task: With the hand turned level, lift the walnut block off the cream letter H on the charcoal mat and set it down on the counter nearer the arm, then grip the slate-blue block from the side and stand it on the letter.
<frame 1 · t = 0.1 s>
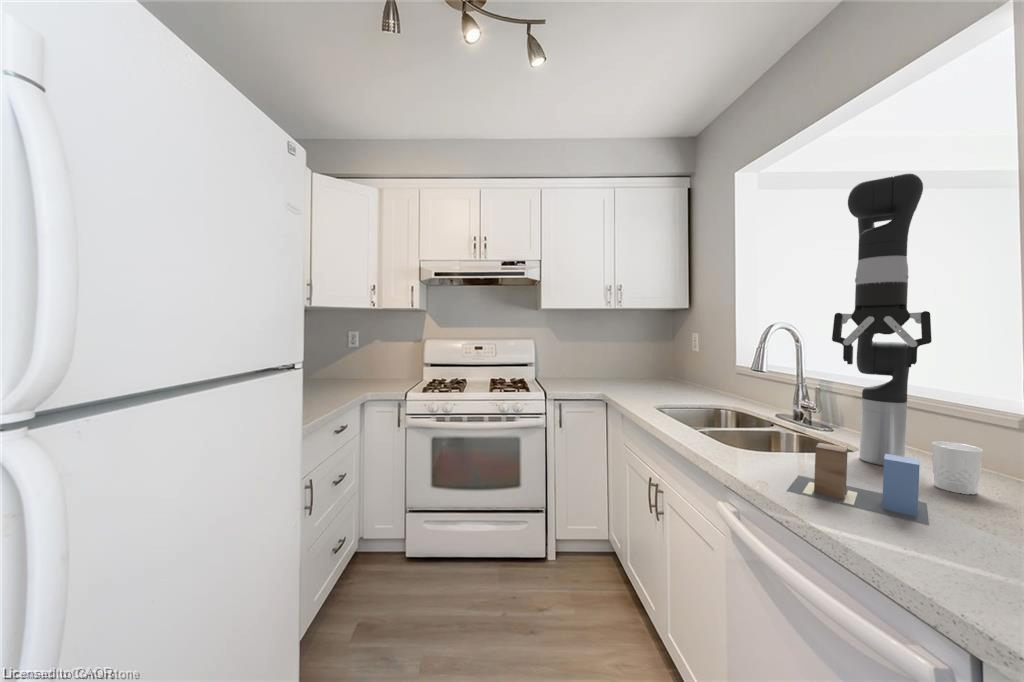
hand: (878, 365, 80), 29 cm above the table, tool pointing down, fingers open, 8 cm apart
blue block: (899, 508, 81), point 1 cm above the table, touching letter mat
walnut block: (830, 492, 89), point 1 cm above the table, touching letter mat
white cup: (954, 489, 94), on the table
letter mat: (854, 499, 87), on the table
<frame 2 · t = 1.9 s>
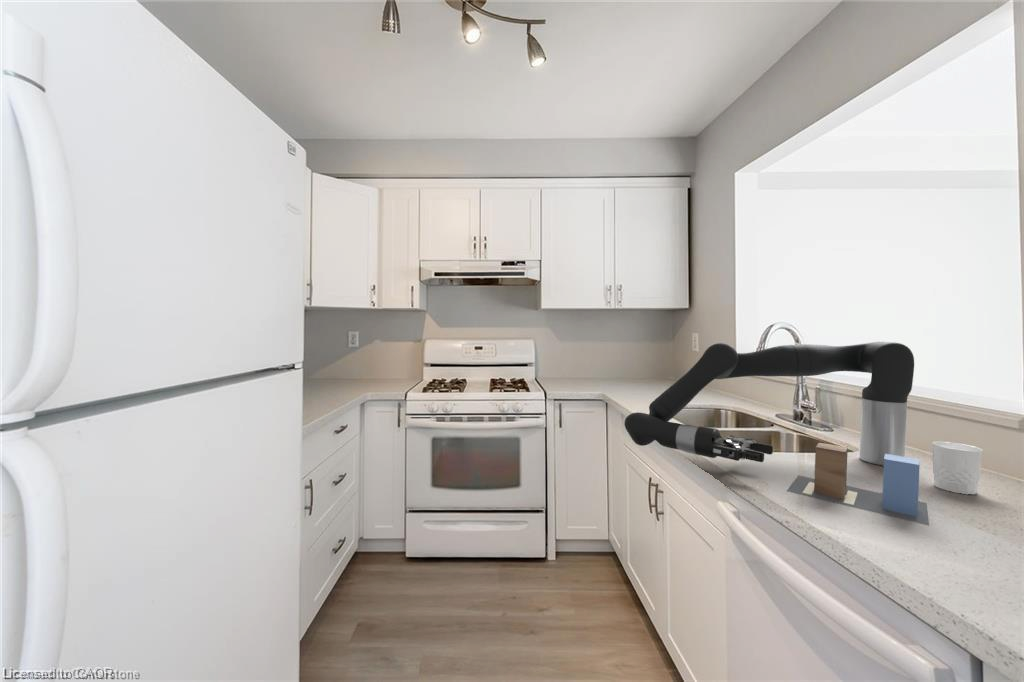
hand: (768, 453, 97), 7 cm above the table, tool horizontal, fingers open, 8 cm apart
nothing on the table moved.
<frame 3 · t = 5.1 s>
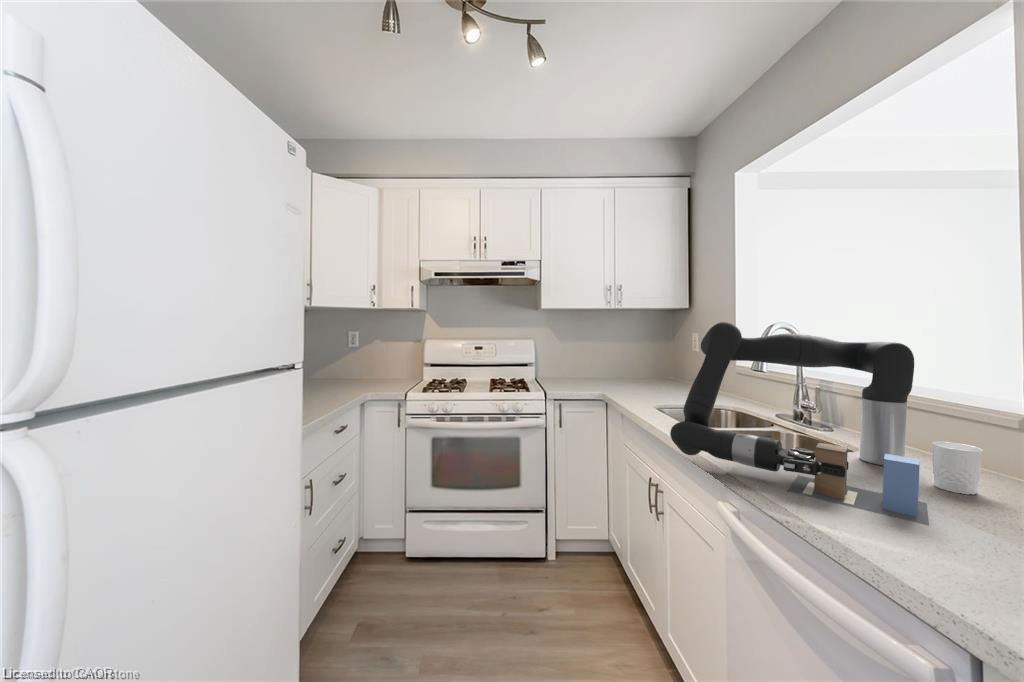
hand: (846, 468, 87), 7 cm above the table, tool horizontal, fingers closed on walnut block, 5 cm apart
walnut block: (830, 492, 89), point 1 cm above the table, touching gripper, letter mat
everything else where it was.
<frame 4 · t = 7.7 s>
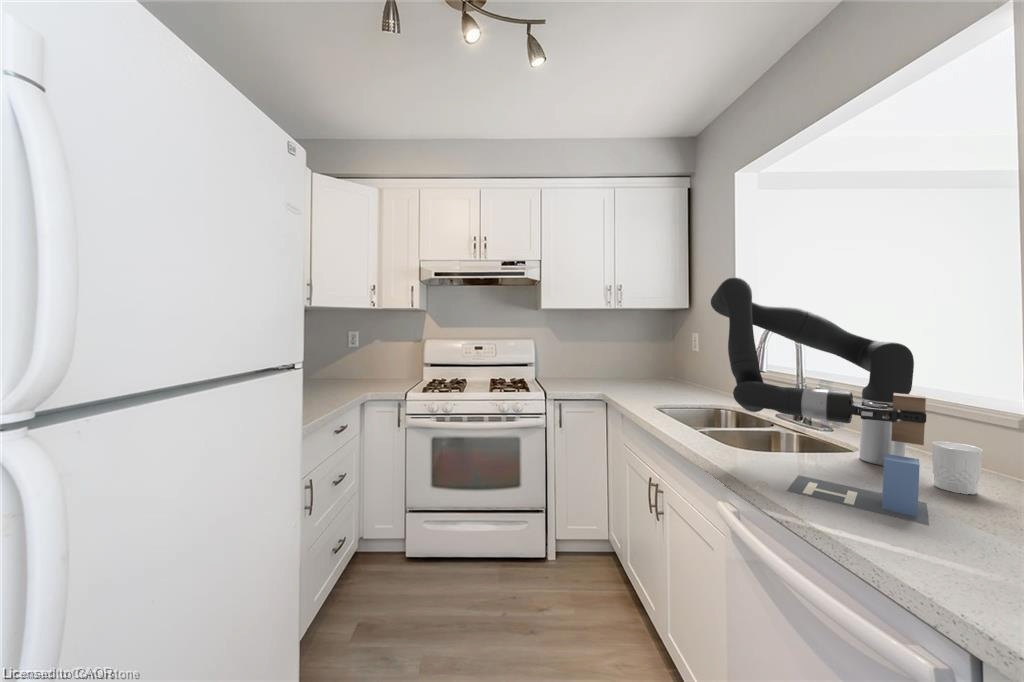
hand: (925, 416, 88), 18 cm above the table, tool horizontal, fingers closed on walnut block, 5 cm apart
walnut block: (907, 440, 90), point 12 cm above the table, touching gripper
everything else where it was.
when the fingers open (7 cm above the table, at t = 10.3 s): walnut block drops 1 cm, on the table.
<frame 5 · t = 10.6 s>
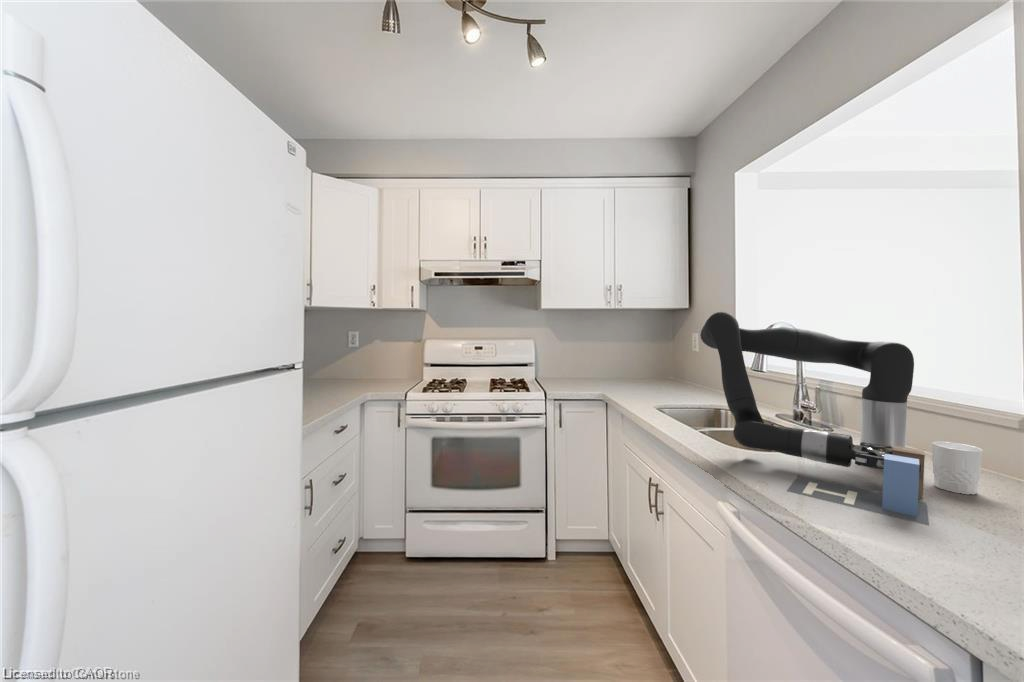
hand: (920, 463, 88), 7 cm above the table, tool horizontal, fingers open, 8 cm apart
walnut block: (906, 495, 90), on the table
everything else where it was.
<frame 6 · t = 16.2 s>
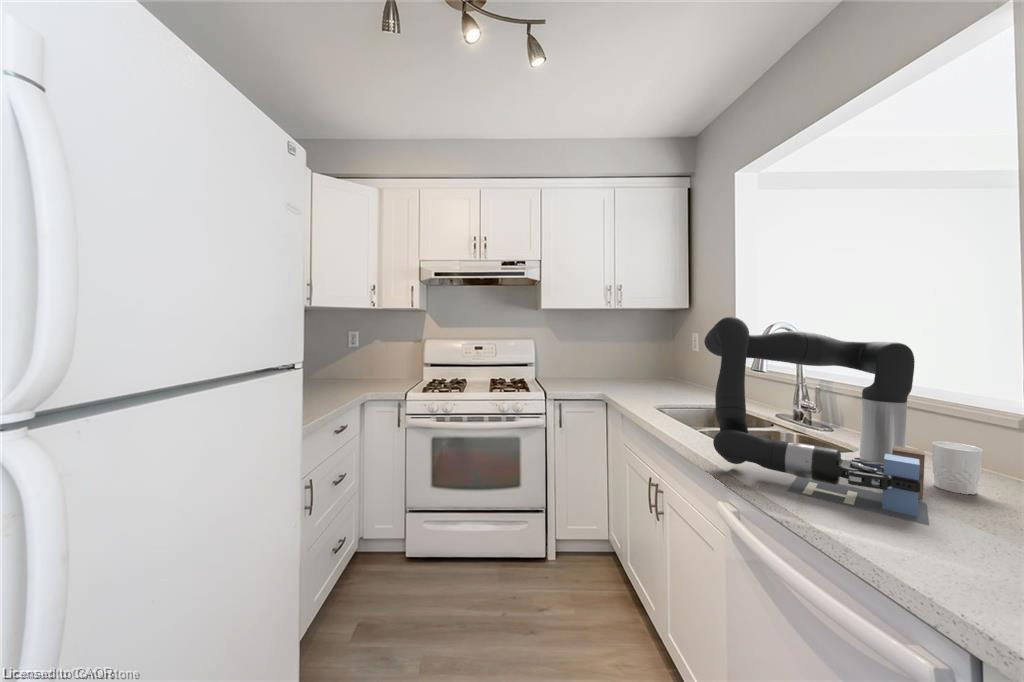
hand: (919, 482, 79), 7 cm above the table, tool horizontal, fingers closed on blue block, 5 cm apart
blue block: (899, 508, 81), point 1 cm above the table, touching gripper, letter mat
everything else where it was.
when the fingers open (8 cm above the table, at t = 20.8 s): blue block drops 1 cm, resting on letter mat.
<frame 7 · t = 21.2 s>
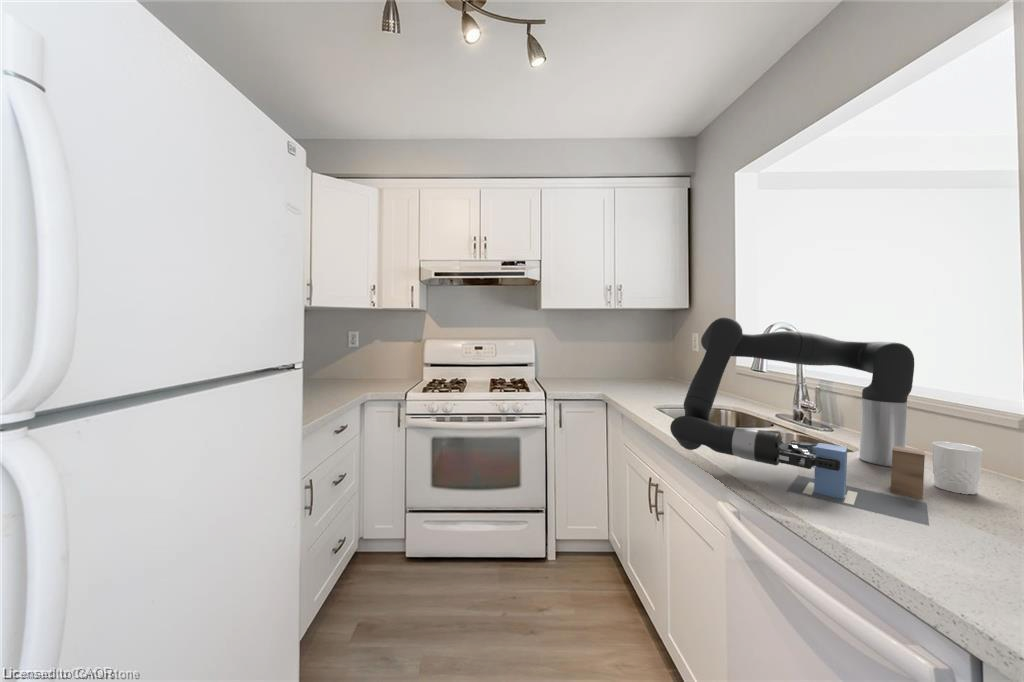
hand: (842, 461, 87), 8 cm above the table, tool horizontal, fingers open, 8 cm apart
blue block: (829, 492, 89), point 1 cm above the table, touching letter mat
everything else where it was.
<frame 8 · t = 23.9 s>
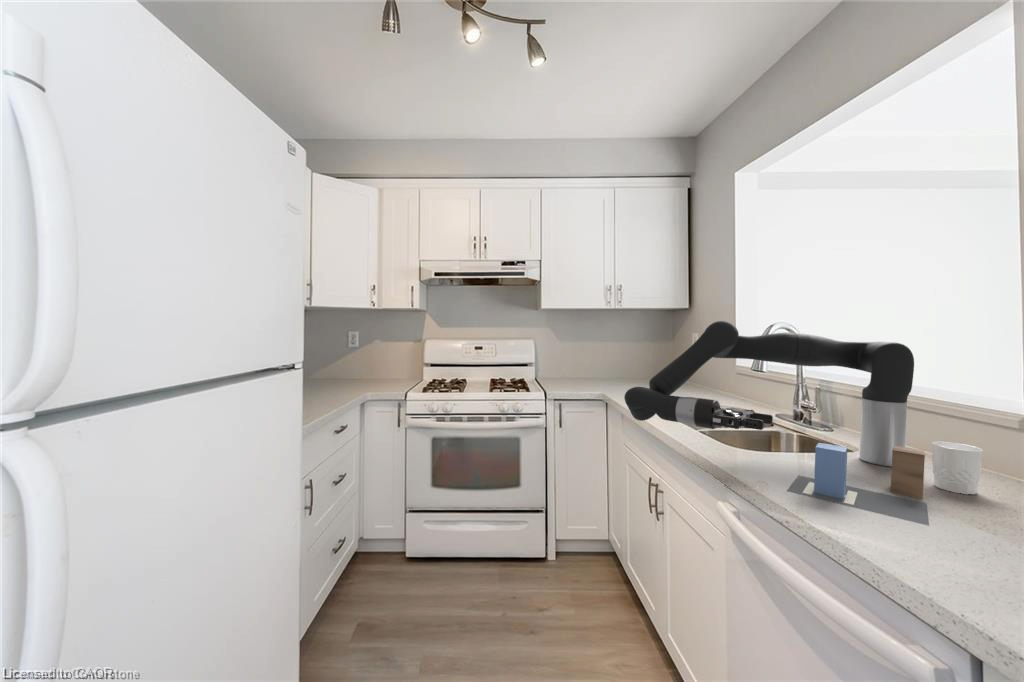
hand: (768, 422, 97), 14 cm above the table, tool horizontal, fingers open, 8 cm apart
nothing on the table moved.
at the end: blue block 0.0 cm from the target spot on the letter mat, point 0.6 cm above the letter mat's base; blue block tilted 0°; walnut block moved 17.6 cm from its start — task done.
